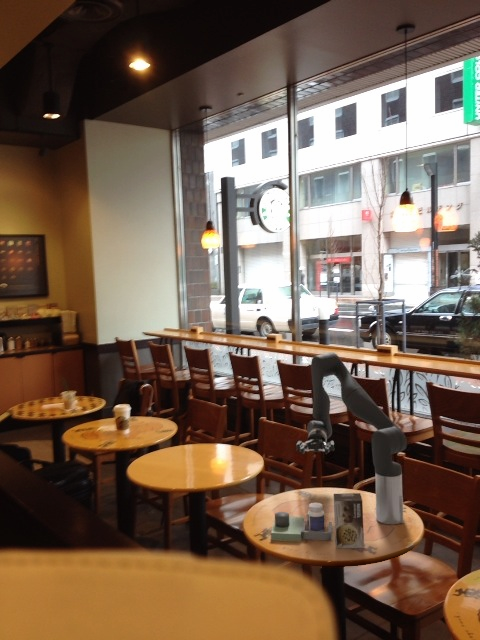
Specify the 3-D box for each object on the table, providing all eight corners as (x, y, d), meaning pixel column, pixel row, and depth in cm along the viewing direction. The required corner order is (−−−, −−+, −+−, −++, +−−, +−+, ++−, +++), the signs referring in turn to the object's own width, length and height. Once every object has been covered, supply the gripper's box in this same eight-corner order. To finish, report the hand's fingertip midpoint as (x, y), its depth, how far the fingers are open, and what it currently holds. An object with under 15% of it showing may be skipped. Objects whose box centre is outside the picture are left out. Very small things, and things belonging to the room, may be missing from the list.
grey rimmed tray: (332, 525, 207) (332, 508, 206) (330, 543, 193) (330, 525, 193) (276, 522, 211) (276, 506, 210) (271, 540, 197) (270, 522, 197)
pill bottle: (328, 533, 200) (327, 505, 200) (315, 538, 197) (315, 509, 196) (317, 528, 205) (316, 500, 204) (304, 532, 202) (303, 504, 201)
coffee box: (362, 539, 195) (361, 492, 193) (364, 548, 188) (363, 500, 187) (334, 539, 195) (333, 492, 194) (335, 548, 189) (334, 500, 188)
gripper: (298, 430, 234) (294, 441, 218) (334, 430, 231) (333, 441, 215) (299, 448, 235) (295, 461, 219) (335, 449, 232) (334, 461, 216)
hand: (314, 451), depth 217 cm, fingers open, 8 cm apart
